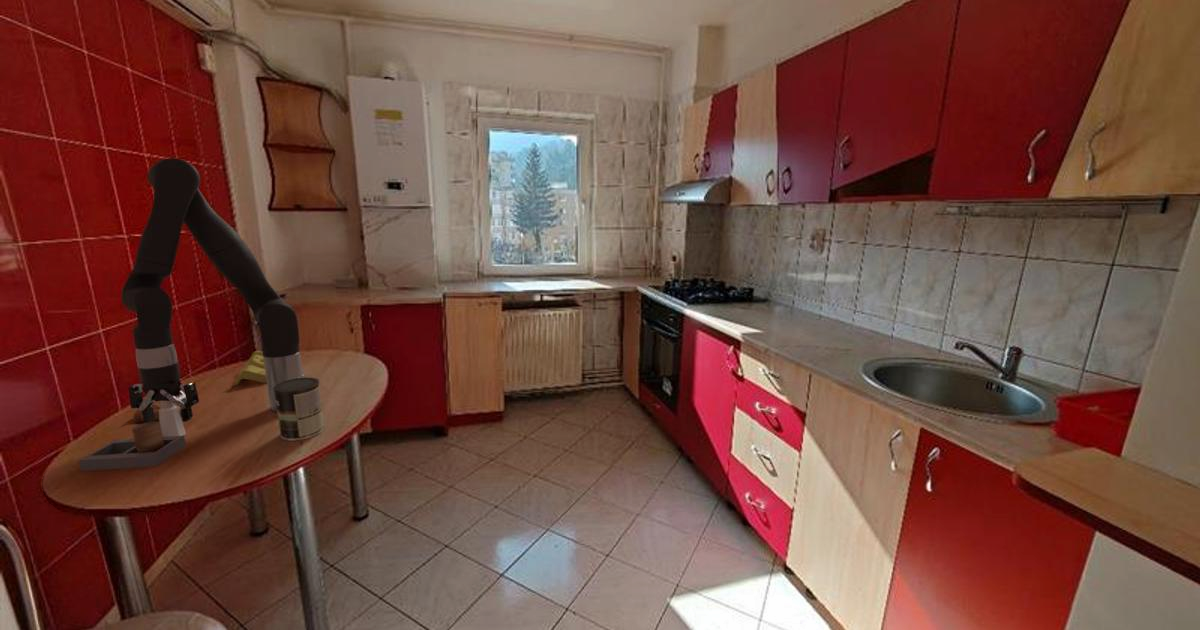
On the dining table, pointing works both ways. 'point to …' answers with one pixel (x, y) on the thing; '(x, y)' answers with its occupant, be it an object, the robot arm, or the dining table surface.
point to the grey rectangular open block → (129, 455)
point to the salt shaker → (170, 420)
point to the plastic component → (253, 369)
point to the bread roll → (139, 418)
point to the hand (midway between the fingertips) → (168, 421)
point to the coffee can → (299, 408)
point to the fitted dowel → (148, 437)
